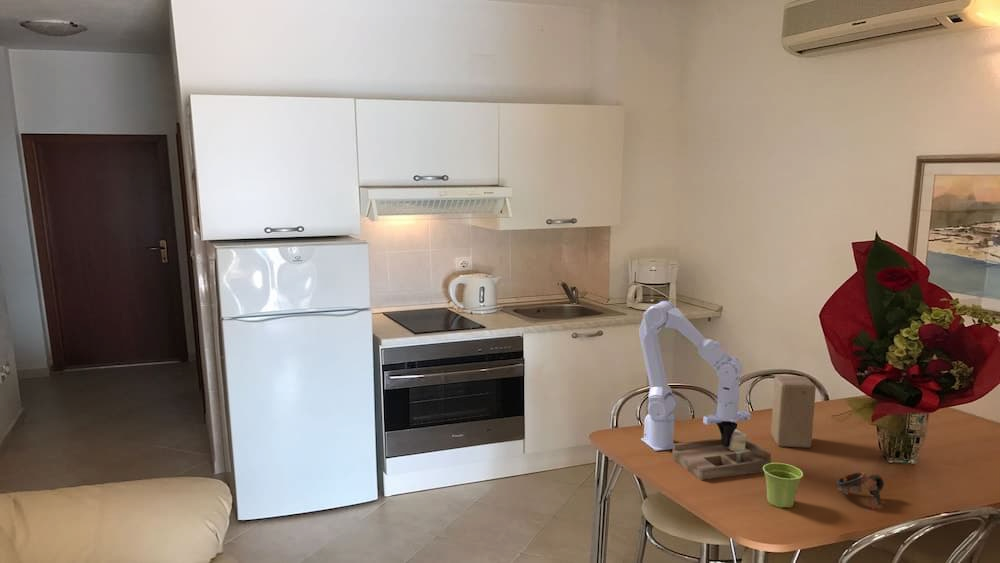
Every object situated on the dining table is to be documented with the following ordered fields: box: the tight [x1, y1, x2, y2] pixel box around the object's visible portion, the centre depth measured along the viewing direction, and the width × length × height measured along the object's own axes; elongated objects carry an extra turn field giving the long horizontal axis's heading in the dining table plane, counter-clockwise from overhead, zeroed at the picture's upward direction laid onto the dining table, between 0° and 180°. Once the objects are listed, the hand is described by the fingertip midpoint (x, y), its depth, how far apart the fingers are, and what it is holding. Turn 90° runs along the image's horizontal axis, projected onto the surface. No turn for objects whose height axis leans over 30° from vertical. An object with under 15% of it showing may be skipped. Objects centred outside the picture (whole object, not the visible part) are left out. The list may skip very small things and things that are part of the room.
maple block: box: [726, 429, 747, 451], centre depth 202 cm, size 4×4×4 cm
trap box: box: [671, 437, 772, 481], centre depth 197 cm, size 15×22×5 cm
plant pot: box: [763, 462, 804, 509], centre depth 174 cm, size 9×9×9 cm
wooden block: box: [770, 375, 817, 449], centre depth 213 cm, size 10×10×20 cm
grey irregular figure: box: [836, 471, 885, 510], centre depth 177 cm, size 12×10×8 cm
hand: (725, 445), depth 201 cm, fingers closed, pressing on maple block
